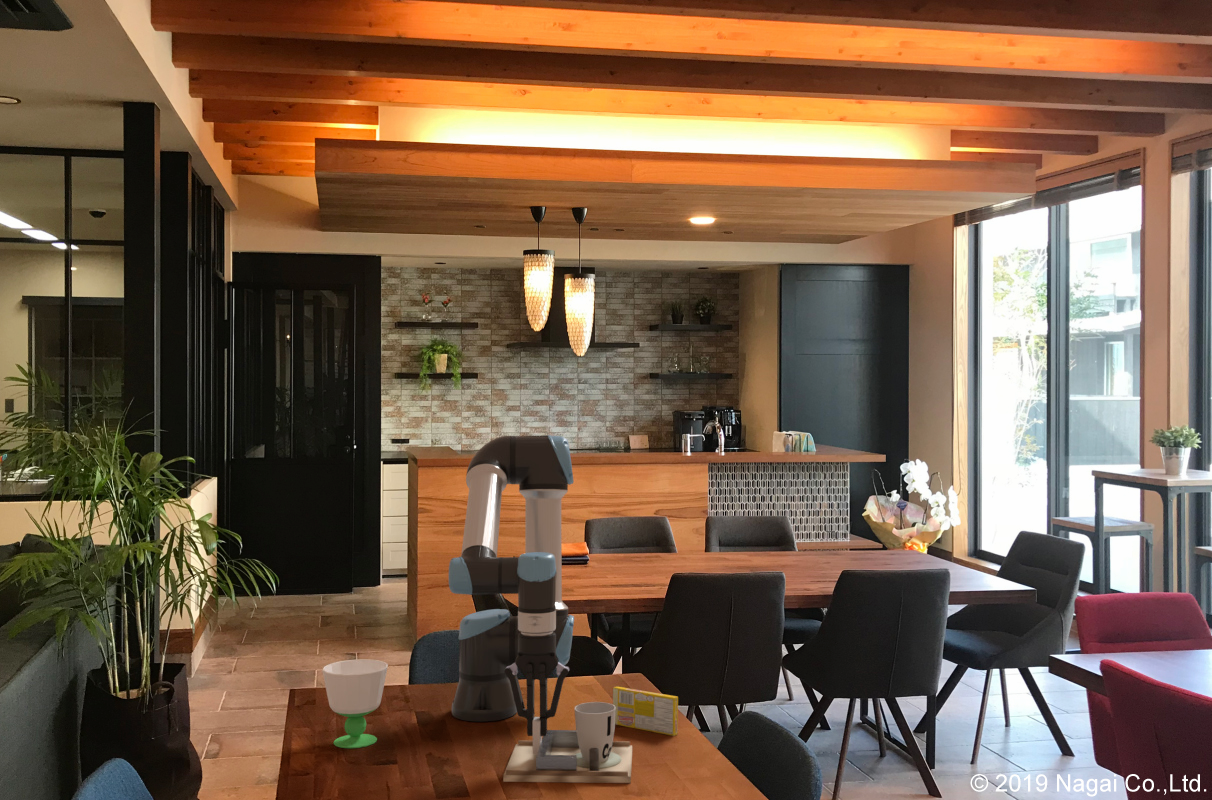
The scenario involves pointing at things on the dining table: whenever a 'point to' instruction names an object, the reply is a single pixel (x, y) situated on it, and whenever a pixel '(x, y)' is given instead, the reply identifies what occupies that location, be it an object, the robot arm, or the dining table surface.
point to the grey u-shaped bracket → (557, 761)
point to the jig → (591, 772)
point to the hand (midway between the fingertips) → (537, 751)
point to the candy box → (646, 710)
